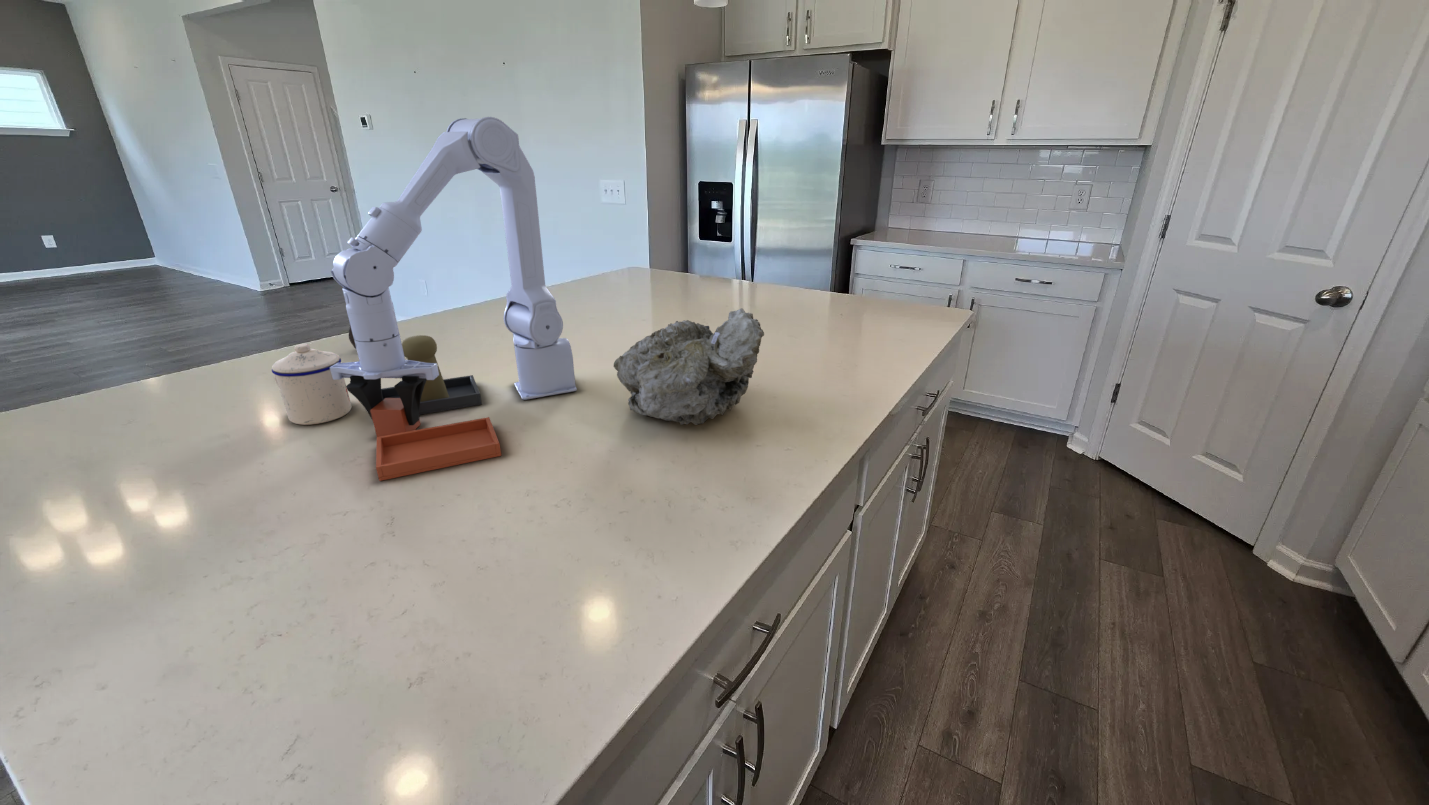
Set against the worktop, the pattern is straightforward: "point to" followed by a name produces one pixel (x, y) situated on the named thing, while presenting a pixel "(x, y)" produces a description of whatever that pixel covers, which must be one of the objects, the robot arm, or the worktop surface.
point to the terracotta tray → (435, 448)
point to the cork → (424, 351)
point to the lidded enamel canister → (311, 386)
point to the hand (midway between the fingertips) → (397, 422)
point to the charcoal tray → (458, 389)
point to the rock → (691, 368)
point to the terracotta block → (391, 418)
